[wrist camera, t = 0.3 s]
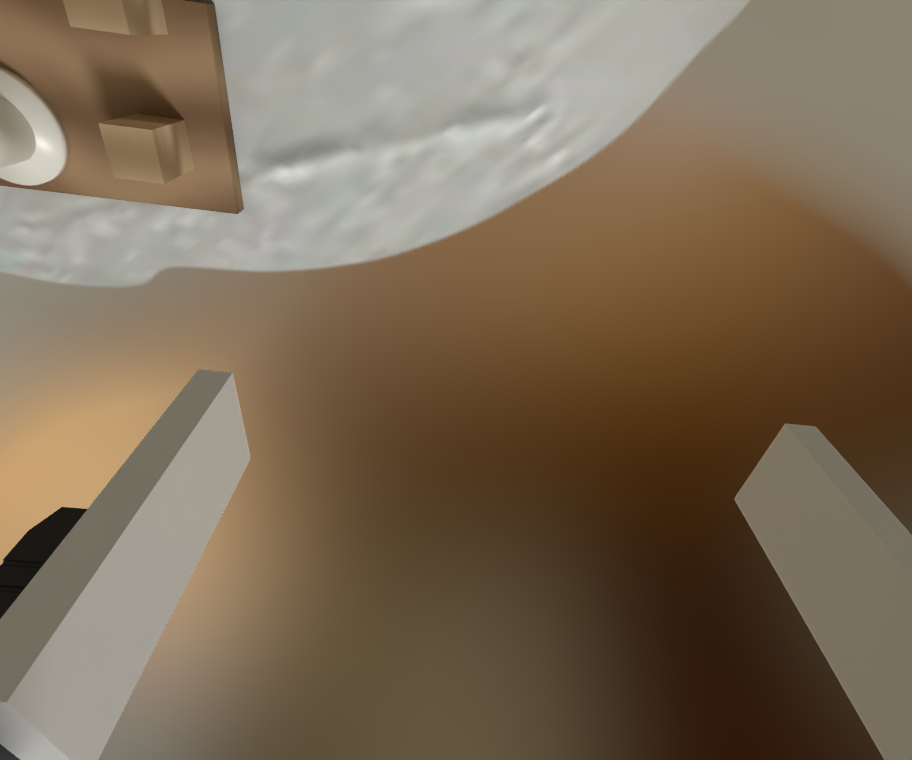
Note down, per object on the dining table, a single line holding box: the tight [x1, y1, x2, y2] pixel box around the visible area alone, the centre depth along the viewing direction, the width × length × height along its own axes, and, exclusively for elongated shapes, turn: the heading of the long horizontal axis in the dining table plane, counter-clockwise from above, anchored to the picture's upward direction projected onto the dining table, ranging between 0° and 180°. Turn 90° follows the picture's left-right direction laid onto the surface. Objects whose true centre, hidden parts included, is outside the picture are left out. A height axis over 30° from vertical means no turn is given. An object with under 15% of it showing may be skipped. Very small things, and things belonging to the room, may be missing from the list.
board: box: [0, 0, 244, 214], centre depth 29 cm, size 13×20×5 cm, turn 83°
